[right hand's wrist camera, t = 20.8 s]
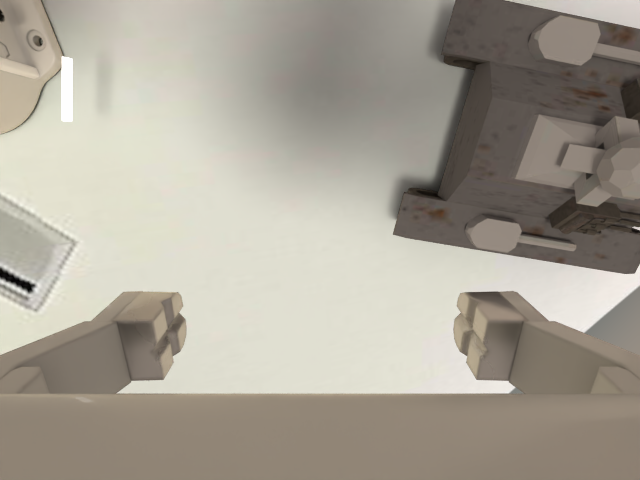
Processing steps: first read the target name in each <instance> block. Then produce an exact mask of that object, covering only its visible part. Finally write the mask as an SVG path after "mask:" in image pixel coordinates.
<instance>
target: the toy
mask: <svg viewBox="0 0 640 480" xmlns="http://www.w3.org/2000/svg"><path fill="white" fill-rule="evenodd" d="M441 55H445V58H444V62H445V63H446V64H449V65H453V66H458V67H463V68H468V69H473V70H475V71H474V75H473V78H472V81H471V85H470V88H469V91H468V95H467V98H466V101H465V105H464V108H463V111H462V115H461V118H460V121H459V125H458V128H457V132H456V135H455V138H454V142H453V145H452V148H451V152H450V155H449V158H448V162H447V165H446V168H445V172H444V175H443V178H442V182H441V185H440V188H439V192H435V191H430V190H424V189H418V188H409V189H408V193H407V192H404V195H403V199H402V202H401V206H400V210H399V213H398V217H397V221H396V225H395V228H394V232H393V235H397V236H401V237H405V238H410V239H416V240H422V241H428V242H434V243H440V244H446V245H452V246H458V247H464V248H470V249H476V250H482V251H488V252H495V253H501V254H507V255H513V256H519V257H525V258H531V259H537V260H543V261H549V262H555V263H561V264H567V265H573V266H579V267H585V268H592V269H598V270H604V271H610V272H616V273H623V274H633V273H635V272H636V270H637V268H638V266H639V264H640V231H639V230H637V229H634V228H632V227H634V226H635V227H640V29H637V28H632V27H627V26H623V25H618V24H613V23H609V22H604V21H599V20H594V19H590V18H585V17H580V16H576V15H571V14H566V13H561V12H557V11H552V10H547V9H543V8H538V7H533V6H528V5H524V4H519V3H514V2H510V1H505V0H456V1H455V5H454V9H453V12H452V16H451V20H450V23H449V27H448V31H447V35H446V38H445V42H444V46H443V50H442V53H441Z"/></svg>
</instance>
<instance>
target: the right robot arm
mask: <svg viewBox="0 0 640 480" xmlns="http://www.w3.org/2000/svg"><path fill="white" fill-rule="evenodd" d="M40 38H42V41H43V44H42V45H40V43H39V39H40ZM61 67H62V121H72V59H71V58H67V57H63V55H62V52H61V49H60V47H59V44H58V42H57V39H56V37H55V34H54V32H53V29H52V27H51V24H50V22H49V19H48V17H47V15H46V12H45V10H44V7H43V5H42V2H41V0H0V134H2V133H6V132H8V131H11V130H13V129H15V128H16V127H18V126H19V125H21V124H22V123H23V122H24V121H25V120H26V119H27V118H28V117H29V116H30V114H31V113H32V111H33V110H34V108H35V106H36V104H37V101H38V98H39V95H40V93H41V90H42V88H43V86H44V84H45V83H46V82H47V81H48V80H49V79H50V78H52V77H53V76H54V75H55V74H56V73H57V72H58V71H59V70H60V68H61ZM182 307H183V302H182V297H181V295H180V294H179V293H178V292H143V291H135V292H123V293H122V294H121V295H120V296H118V297H117V298H116V299H115V300H114V301H113V302H112V303H111V304H110V305H108V306H107V307H106V308H105V309H104V310H103V311H102V312H101V313H99V314H98V315H97V316H96V317H95V318H94V319H93V320H92V321H85V322H82V323H80V324H77V325H75V326H72V327H70V328H67V329H65V330H62V331H60V332H57V333H55V334H52V335H50V336H47V337H45V338H42V339H40V340H37V341H35V342H32V343H30V344H27V345H25V346H22V347H20V348H17V349H15V350H12V351H10V352H7V353H5V354H2V355H0V480H640V355H637V354H635V353H632V352H630V351H627V350H625V349H622V348H620V347H618V346H615V345H613V344H610V343H608V342H605V341H603V340H600V339H598V338H595V337H593V336H590V335H588V334H585V333H583V332H580V331H578V330H575V329H573V328H570V327H568V326H565V325H563V324H560V323H558V322H555V321H548V320H547V319H546V318H545V317H544V316H543V315H542V314H541V313H539V312H538V311H537V310H536V309H535V308H534V307H533V306H532V305H531V304H529V303H528V302H527V301H526V300H525V299H524V298H523V297H522V296H521V295H519V294H518V293H517V292H514V291H506V292H464V293H460V295H459V297H458V302H457V307H458V309H459V310H460V312H461V313H460V314H459V315H458V316H457V317H456V318H455V321H454V329H453V330H454V339H455V342H456V345H457V347H458V349H459V351H460V352H461V353H463V354H465V355H466V356H467V361H466V363H467V365H468V366H469V368H470V370H471V371H472V373H473V375H474V376H475V378H476V380H502V381H509V383H511V384H512V385H513V386H515V387H516V388H518V389H519V390H520V391H522V392H523V393H524V394H116V393H117V392H119V391H120V390H121V389H123V388H124V387H125V386H127V385H128V384H129V383H131V381H137V380H164V378H165V376H166V375H167V373H168V371H169V370H170V368H171V366H172V364H173V363H174V361H173V356H174V355H175V354H177V353H179V352H180V351H181V349H182V347H183V345H184V342H185V338H186V320H185V318H184V317H183V316H182V315H181V314H180V313H179V312H180V310H181V309H182Z"/></svg>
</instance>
